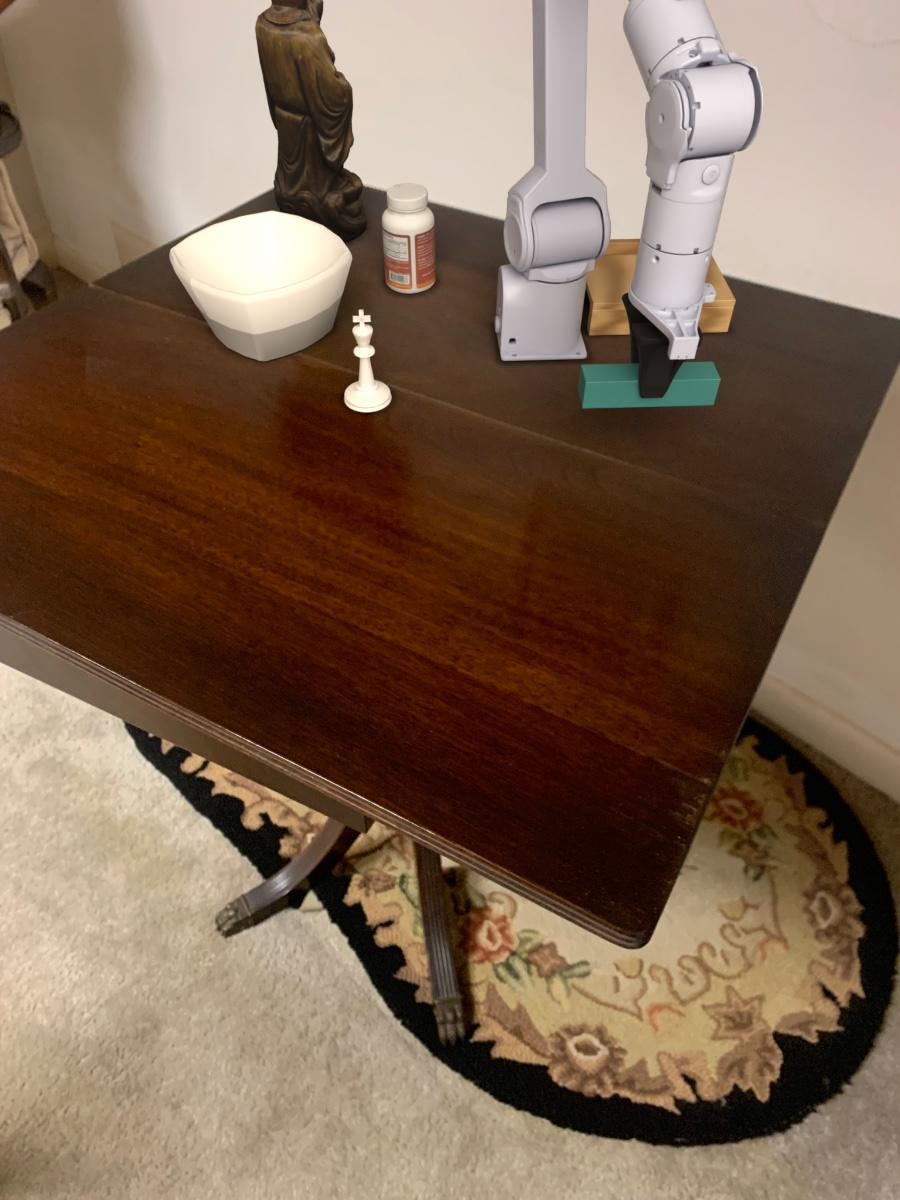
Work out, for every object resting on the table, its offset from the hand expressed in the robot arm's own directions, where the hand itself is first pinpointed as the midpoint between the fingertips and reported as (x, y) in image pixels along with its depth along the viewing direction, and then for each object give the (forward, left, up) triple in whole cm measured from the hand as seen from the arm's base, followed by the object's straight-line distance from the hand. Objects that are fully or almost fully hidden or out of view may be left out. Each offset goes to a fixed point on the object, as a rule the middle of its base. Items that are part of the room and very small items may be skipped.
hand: (647, 385), depth 80 cm
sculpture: (-32, +50, -9) cm, 60 cm away
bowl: (-37, +25, -9) cm, 45 cm away
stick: (0, 0, -1) cm, 1 cm away
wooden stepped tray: (+7, +28, -8) cm, 30 cm away
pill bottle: (-21, +35, -9) cm, 42 cm away
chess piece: (-26, +11, -9) cm, 29 cm away
